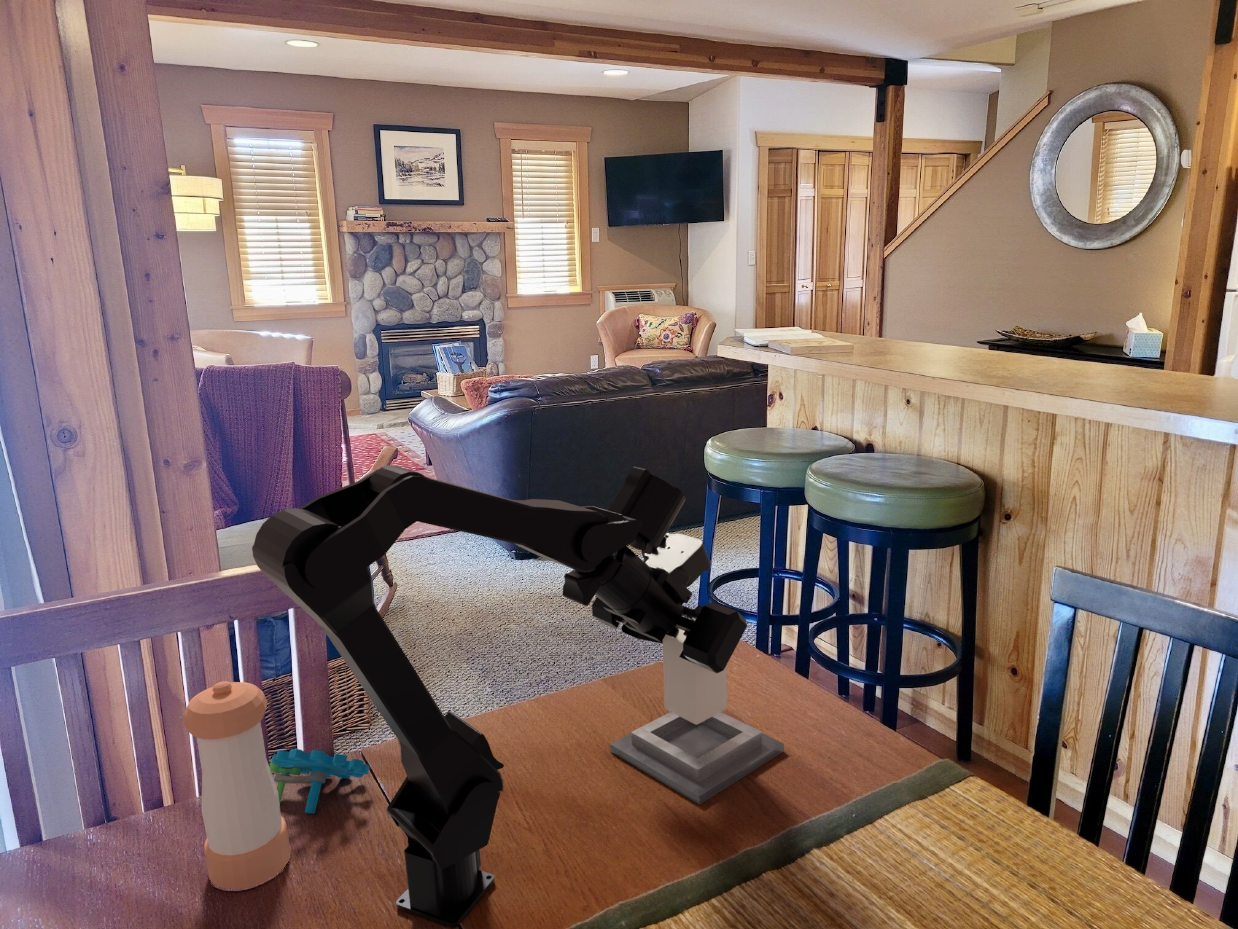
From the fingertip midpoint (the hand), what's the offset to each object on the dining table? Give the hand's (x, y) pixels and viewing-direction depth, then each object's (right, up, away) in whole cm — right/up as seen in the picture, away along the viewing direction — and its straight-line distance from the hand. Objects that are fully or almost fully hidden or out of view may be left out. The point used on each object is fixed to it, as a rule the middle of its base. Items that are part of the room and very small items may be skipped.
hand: (703, 650), depth 96 cm
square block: (-1, -7, +1) cm, 7 cm away
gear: (-42, -15, -3) cm, 45 cm away
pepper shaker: (-45, -18, -14) cm, 50 cm away
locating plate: (-1, -12, +2) cm, 12 cm away
